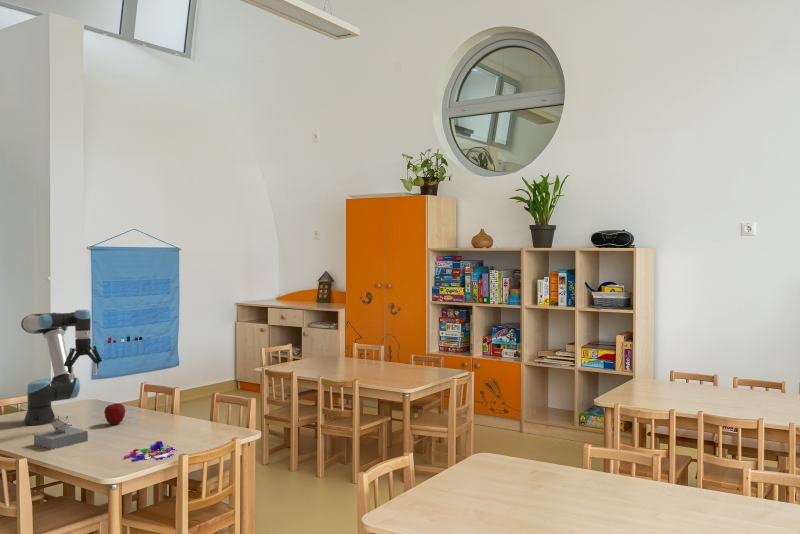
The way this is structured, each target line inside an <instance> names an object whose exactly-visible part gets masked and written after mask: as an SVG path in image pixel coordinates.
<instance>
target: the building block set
mask: <svg viewBox="0 0 800 534" xmlns="http://www.w3.org/2000/svg"><path fill="white" fill-rule="evenodd" d="M165 445H166V444H165V442H164V441H162V440H158V439H157V440H155V441H154V442H153V443H152V444H150V446H147V447H142V448H135V449H133V450H132V451H130V452H129V454H126V455H123V459H125V458H126V459H125V460H127V458H128V459H131V458H130V457H132V459H131V462H135V461H136V462H140V461H142V460H145V459H149V460H151V459H152V457H155V458H154V459H155V460H156V459H160V460H164V459H163V458H165V457H167V458H168V457H169V458H171V457H170V456H172V455H174V456H175V454H173V453H171V452H170V451H171V450H175V449H173V447H169V446H167V447H165ZM168 447H169V448H168ZM158 449H159V450H162V451H159V450H158ZM151 451H152V452H151ZM147 452H150V453H147ZM153 452H154V453H153ZM166 452H170V453H166ZM157 454H160V455H157ZM161 454H162V455H161ZM156 455H157V456H156ZM134 456H135V457H136V456H139V457H136V458H135V457H134ZM150 456H151V457H150ZM172 457H173V456H172ZM133 458H134V459H133ZM143 458H145V459H143ZM150 458H151V459H150ZM141 459H142V460H141ZM165 459H166V458H165ZM139 460H140V461H139Z"/></svg>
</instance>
